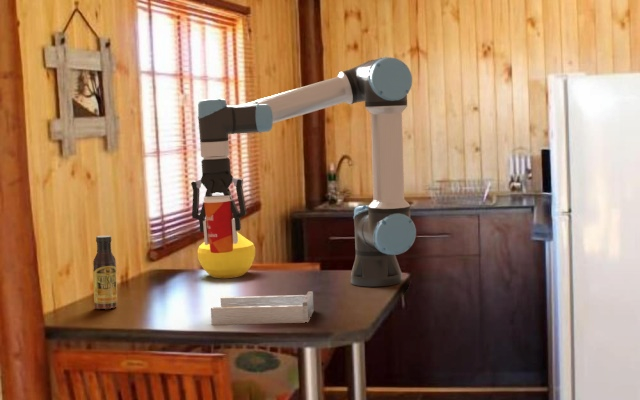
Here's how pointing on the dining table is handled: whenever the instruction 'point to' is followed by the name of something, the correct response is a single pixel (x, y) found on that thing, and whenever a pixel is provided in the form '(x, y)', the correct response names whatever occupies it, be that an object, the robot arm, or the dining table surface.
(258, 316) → the channel
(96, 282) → the sauce bottle
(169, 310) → the dining table surface
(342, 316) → the dining table surface
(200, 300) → the dining table surface
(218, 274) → the vase
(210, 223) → the coffee cup
